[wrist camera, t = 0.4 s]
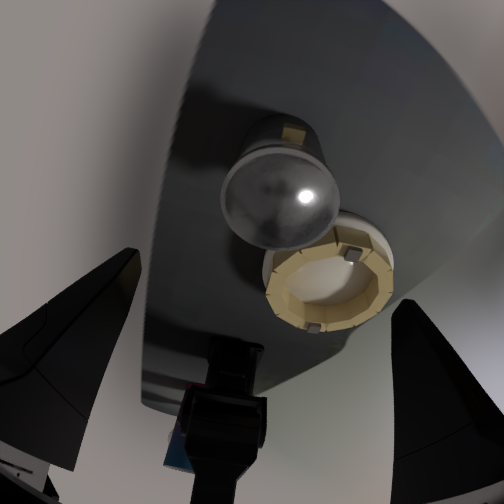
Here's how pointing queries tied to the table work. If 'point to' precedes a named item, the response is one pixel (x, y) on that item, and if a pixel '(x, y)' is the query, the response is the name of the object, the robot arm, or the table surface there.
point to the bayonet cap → (280, 187)
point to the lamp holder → (332, 277)
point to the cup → (178, 447)
